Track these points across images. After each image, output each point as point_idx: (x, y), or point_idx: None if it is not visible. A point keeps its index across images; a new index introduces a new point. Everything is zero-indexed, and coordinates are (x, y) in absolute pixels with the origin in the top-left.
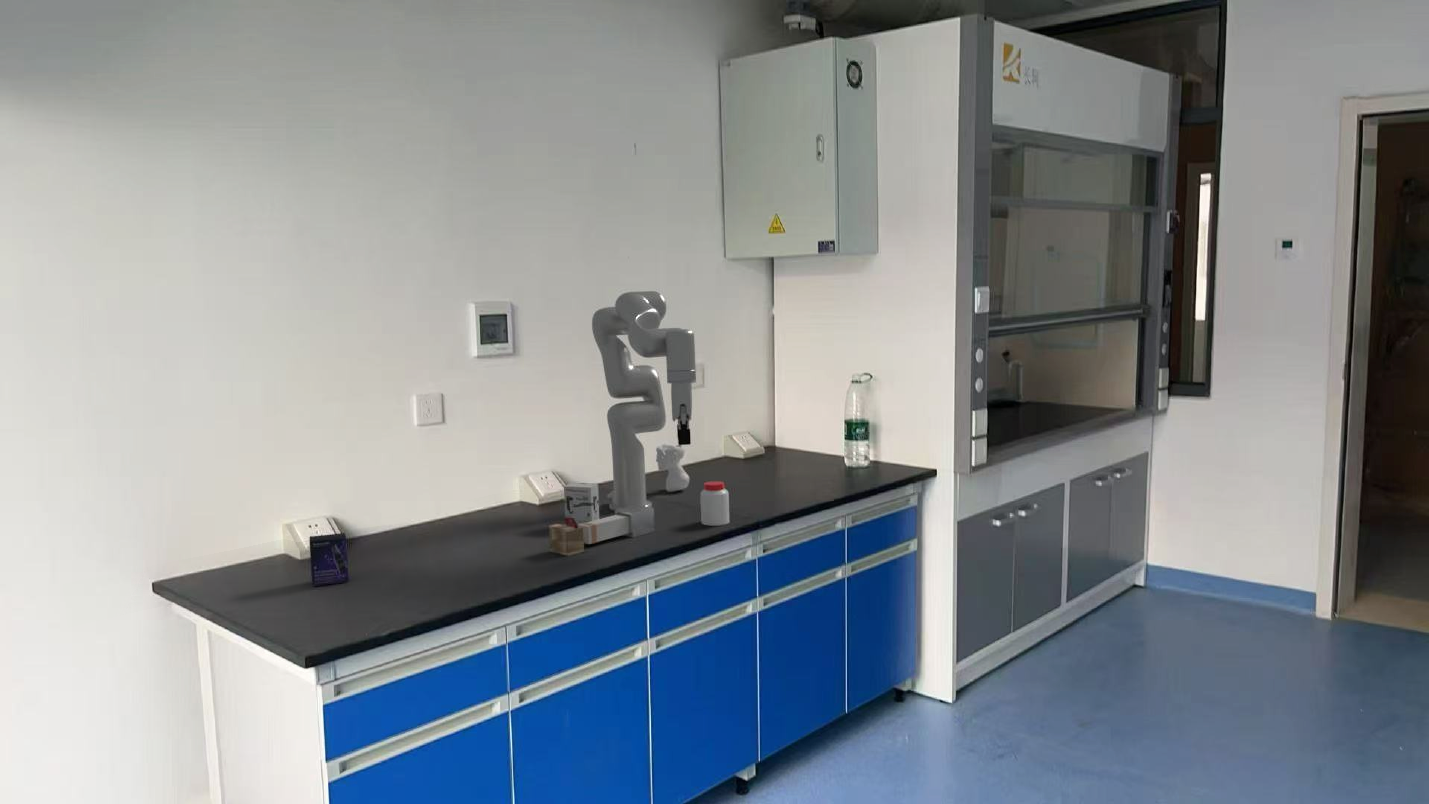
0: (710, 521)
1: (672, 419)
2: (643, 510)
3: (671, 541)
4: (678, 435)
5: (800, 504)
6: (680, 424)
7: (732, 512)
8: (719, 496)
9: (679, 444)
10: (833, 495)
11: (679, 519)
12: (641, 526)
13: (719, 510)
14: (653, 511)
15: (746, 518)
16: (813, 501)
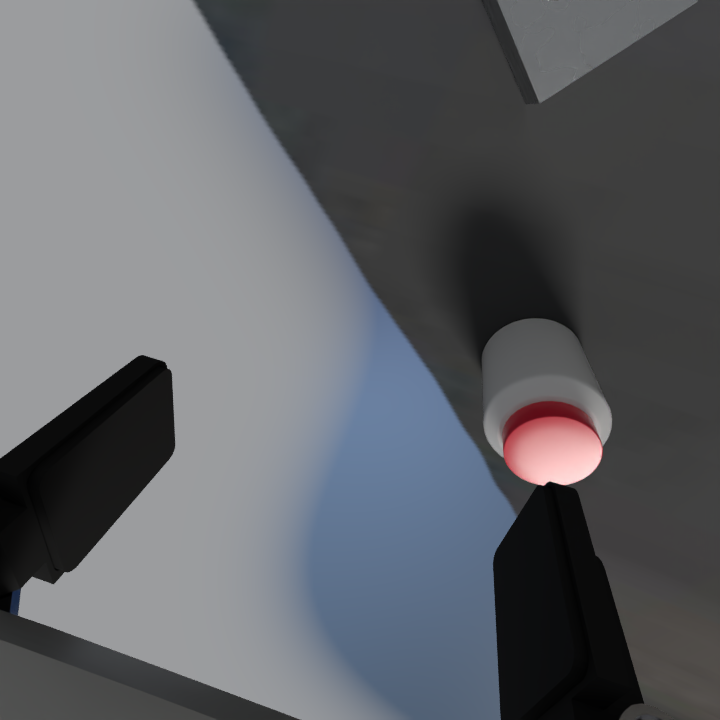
0: (495, 339)
1: (33, 658)
2: (507, 23)
3: (333, 137)
4: (66, 417)
5: None
6: (569, 706)
7: (635, 451)
8: (483, 418)
9: (142, 362)
10: None
11: (672, 265)
12: (493, 17)
13: (482, 385)
14: (536, 101)
15: None
16: None
